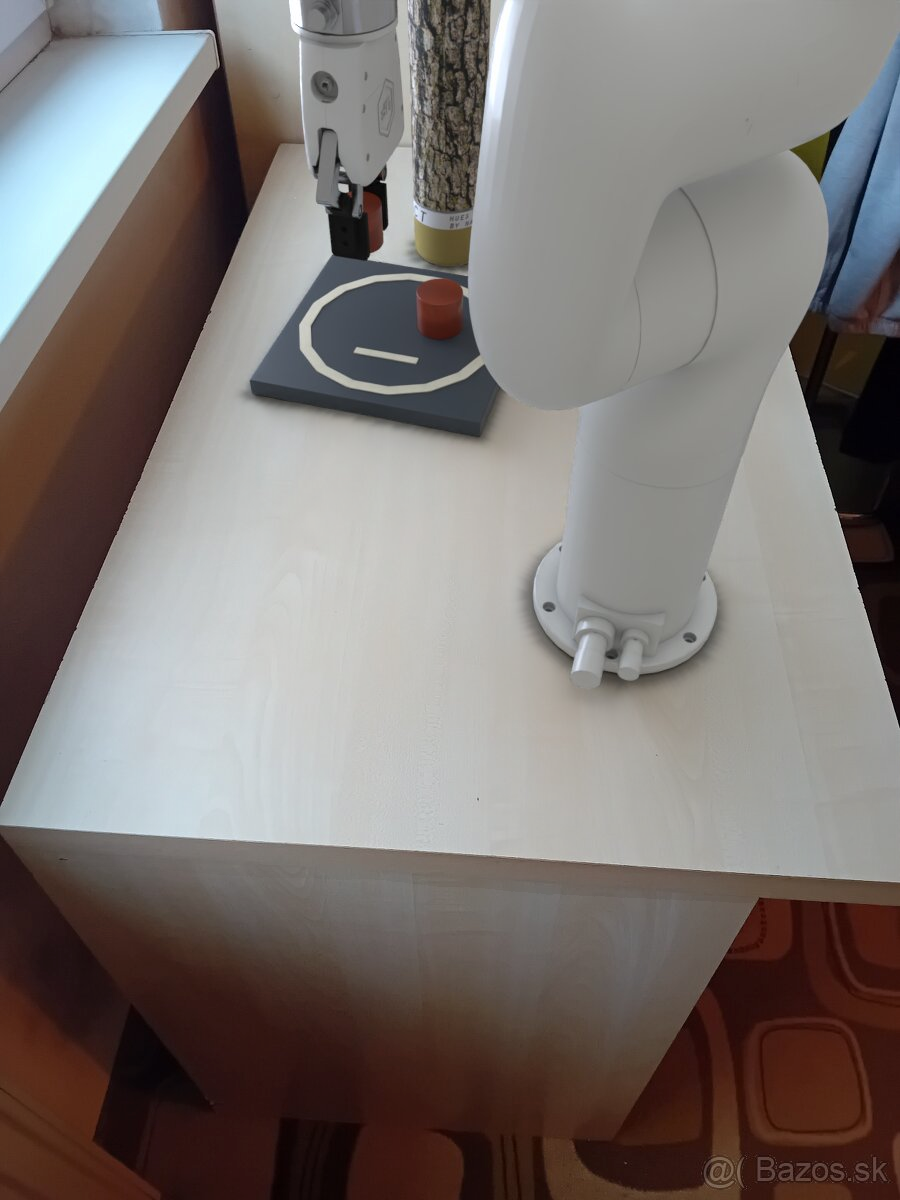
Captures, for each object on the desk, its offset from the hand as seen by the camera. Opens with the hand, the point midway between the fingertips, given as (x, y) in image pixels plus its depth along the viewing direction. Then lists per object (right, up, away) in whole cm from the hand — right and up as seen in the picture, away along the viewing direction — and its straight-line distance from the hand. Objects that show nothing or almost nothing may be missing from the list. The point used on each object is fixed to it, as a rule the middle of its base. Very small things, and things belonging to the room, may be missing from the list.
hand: (360, 239), depth 81 cm
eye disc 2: (+7, -6, +4) cm, 10 cm away
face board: (+3, -8, +5) cm, 10 cm away
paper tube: (+7, +4, +15) cm, 17 cm away
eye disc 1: (0, 0, 0) cm, 0 cm away
